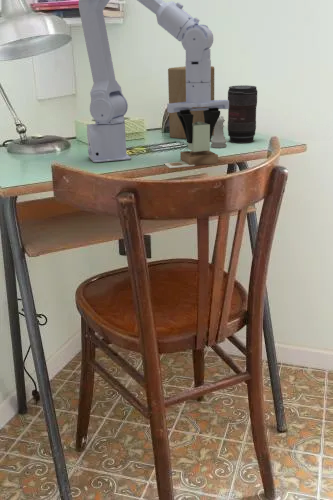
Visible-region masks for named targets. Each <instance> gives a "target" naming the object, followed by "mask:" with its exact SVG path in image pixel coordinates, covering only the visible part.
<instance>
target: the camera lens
mask: <svg viewBox="0 0 333 500" xmlns="http://www.w3.org/2000/svg"><path fill="white" fill-rule="evenodd" d="M227 100H229V109H227V111H228V112H227V134H228V136H229V142H231V143H235V144H243V143H244V144H245V143H253V142H254V137H255V136H256V128H257V105H258V89H257V86H255V85H249V84H248V85H246V84H245V85H242V84H241V85H240V84H239V85H231V86H228V90H227Z"/></svg>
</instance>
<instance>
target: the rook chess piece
mask: <svg viewBox="0 0 333 500" xmlns="http://www.w3.org/2000/svg"><path fill="white" fill-rule="evenodd" d="M225 121H226V120H225V118H224V116H222V115H220V116H219V118H218V120H217V122H216V124H215V127H214V135H212V137H211V142H210V148H212V149H224V148H226V147H227V146H228V144H226V143H227V139H226V137H225V133H224V127H225V126H224V123H225Z"/></svg>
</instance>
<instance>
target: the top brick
mask: <svg viewBox="0 0 333 500" xmlns="http://www.w3.org/2000/svg"><path fill="white" fill-rule="evenodd" d="M192 138H193V139H192V143H190V144H189V143H187V150H188V151H189V150H190V151H193V152H197V151H211V142H210V124H207V123H204V122H195V123H193V124H192Z"/></svg>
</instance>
